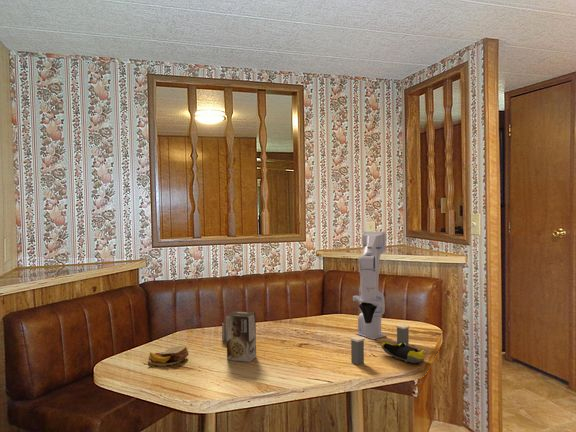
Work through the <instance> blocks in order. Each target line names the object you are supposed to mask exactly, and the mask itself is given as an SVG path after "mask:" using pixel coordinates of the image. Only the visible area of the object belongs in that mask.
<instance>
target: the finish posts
mask: <svg viewBox="0 0 576 432" xmlns="http://www.w3.org/2000/svg"><path fill="white" fill-rule="evenodd" d="M395 328H396V345H399V344H401V343H405V344H406V346H410V345H409V334H410V333H409V328H410V325H407V324H403V323H401V324H398V325H395ZM365 338H366V337H363V336H362V337H361V336H360V335H359V336H358V335H356V336H353V337H350V347H351V348H350V350H351V352H350V354H351V355H350V356H351V357H350V358H351V364H353V365H356V366H359V365H362V364H365V357H364V356H365V352H364V351H365V350H364V349H365V345H364V343H365Z"/></svg>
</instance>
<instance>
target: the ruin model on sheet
mask: <svg viewBox="0 0 576 432" xmlns="http://www.w3.org/2000/svg"><path fill="white" fill-rule="evenodd" d="M221 333H222V334H221V336H222V337H221V338H222V339H221V340H222V342H223V343H227V333H226V323H224V322H222V323H221Z"/></svg>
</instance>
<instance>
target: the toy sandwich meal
mask: <svg viewBox="0 0 576 432" xmlns="http://www.w3.org/2000/svg"><path fill="white" fill-rule="evenodd" d="M188 356H189V351H188V348H187V346H186V345H178V346H172V347H171V346H170V347H169V348H167V349H165V351H162V352H155V353H153V352H149V356H148V359H147V361H148V362H149V364H151V365H152V364H153V365H152V366H154V365H158V366H157V367H168V366H167V365H171V366H174V365H173V364H175V365H177V364H176V363H178V364H180V363H181V362H182V361H183V360H185V359H186V358H187V357H188ZM179 362H180V363H179Z"/></svg>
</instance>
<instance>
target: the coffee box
mask: <svg viewBox="0 0 576 432" xmlns="http://www.w3.org/2000/svg"><path fill="white" fill-rule="evenodd" d="M256 322H257V321H256V312H254V311H253V312H251V311H238V310H237V311H236V310H233V311H231V312H229V313H228V314H226V315H225V324H226V333H227V342H226V360H227V361H235V362H243V363H244V362H246V363H251V362H252V361H253V360H254V359H255V358H257V331H256V330H257V329H256V327H257V324H256Z"/></svg>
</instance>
